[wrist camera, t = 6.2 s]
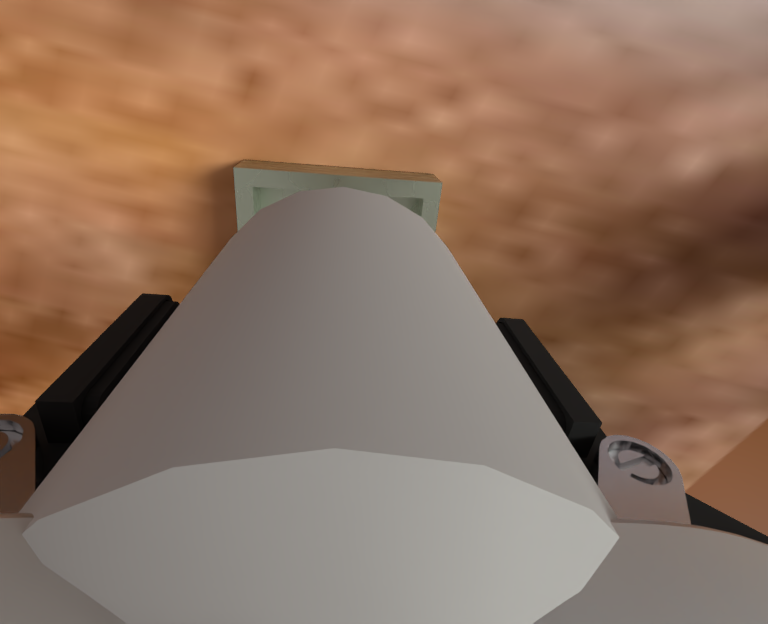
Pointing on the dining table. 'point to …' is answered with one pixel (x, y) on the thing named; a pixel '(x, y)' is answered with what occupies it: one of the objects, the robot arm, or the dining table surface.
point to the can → (325, 445)
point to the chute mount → (330, 186)
